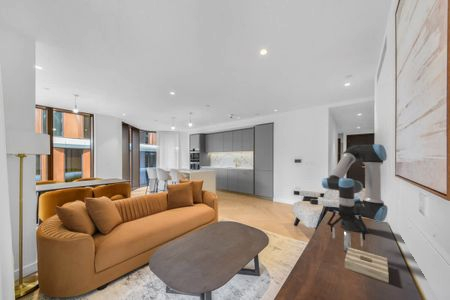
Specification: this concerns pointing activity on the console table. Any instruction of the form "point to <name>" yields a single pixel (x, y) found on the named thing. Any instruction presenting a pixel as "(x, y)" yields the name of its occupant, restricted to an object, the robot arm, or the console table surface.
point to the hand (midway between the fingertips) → (347, 241)
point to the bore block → (367, 264)
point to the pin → (347, 240)
